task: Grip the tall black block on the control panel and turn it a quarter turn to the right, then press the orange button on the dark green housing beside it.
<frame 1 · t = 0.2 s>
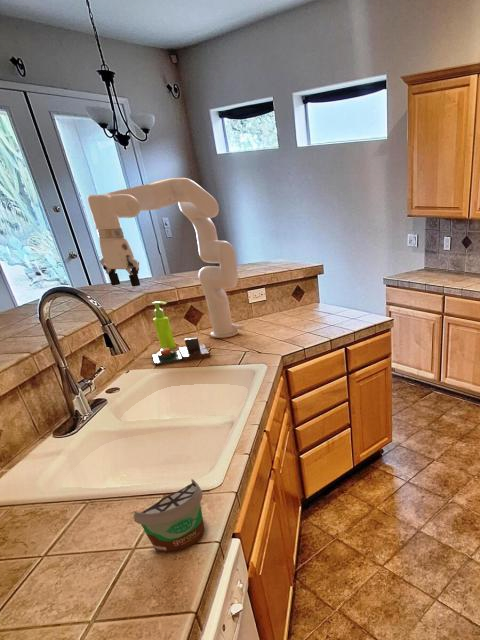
hand: (126, 285, 157), 31 cm above the counter, tool pointing down, fingers open, 9 cm apart
food container: (188, 541, 82), on the counter
button box: (167, 359, 177), on the counter
button: (165, 351, 176), point 3 cm above the counter, slide at 0.1 cm
soap dispenser: (169, 347, 192), on the counter
black block: (192, 344, 180), point 5 cm above the counter, hinge at 0.0°
panel: (194, 354, 182), on the counter
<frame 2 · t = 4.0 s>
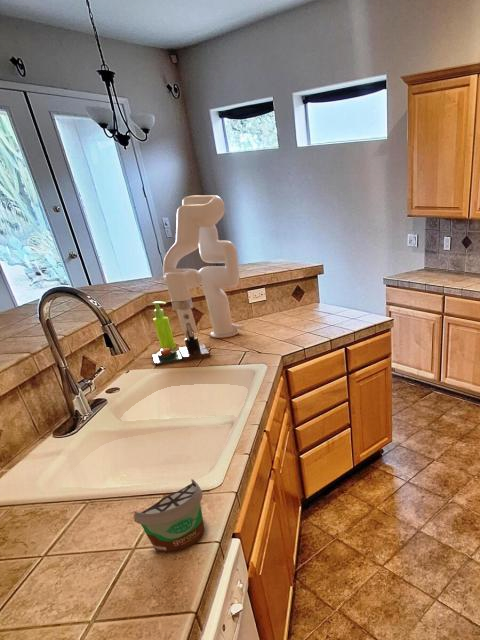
hand: (193, 348, 181), 3 cm above the counter, tool pointing down, fingers closed on black block, 2 cm apart
black block: (192, 344, 180), point 5 cm above the counter, hinge at -0.4°, touching gripper
everything else where it was.
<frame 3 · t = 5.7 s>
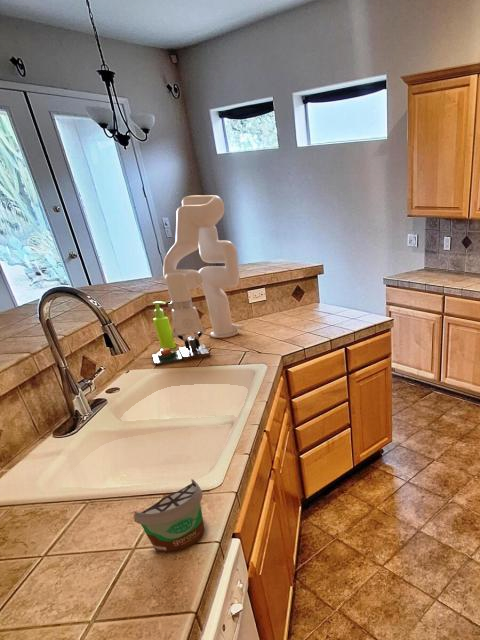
hand: (193, 348, 181), 3 cm above the counter, tool pointing down, fingers closed
black block: (192, 344, 180), point 5 cm above the counter, hinge at -90.1°
everything else where it was.
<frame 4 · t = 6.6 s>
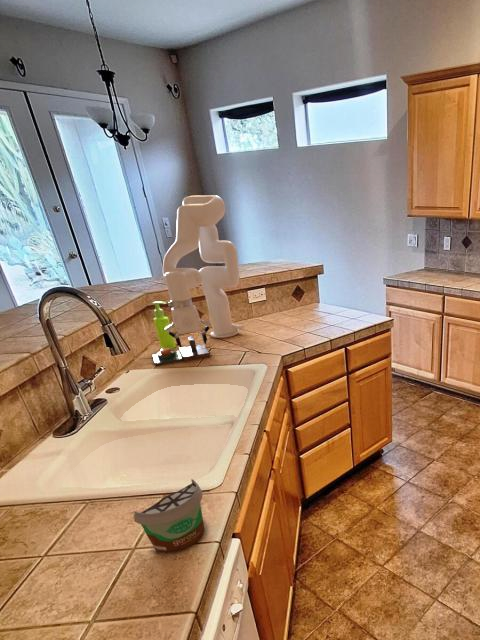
hand: (192, 344, 180), 4 cm above the counter, tool pointing down, fingers open, 9 cm apart
nothing on the counter moved.
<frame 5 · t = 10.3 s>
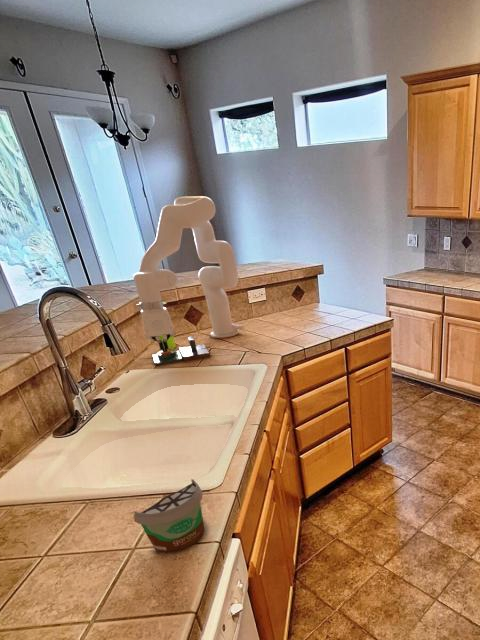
hand: (165, 350, 175), 4 cm above the counter, tool pointing down, fingers closed
button: (166, 352, 176), point 3 cm above the counter, slide at -0.6 cm, touching gripper
everything else where it was.
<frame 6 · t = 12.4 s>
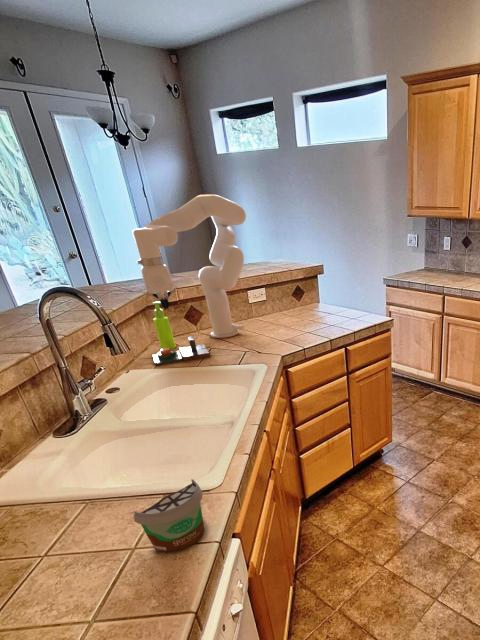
hand: (166, 308, 178), 18 cm above the counter, tool pointing down, fingers closed
button: (165, 351, 176), point 3 cm above the counter, slide at 0.1 cm
everything else where it was.
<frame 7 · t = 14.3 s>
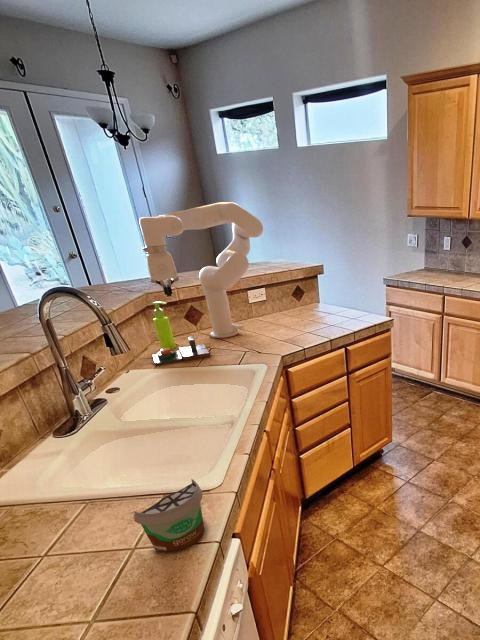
hand: (169, 296, 183), 22 cm above the counter, tool pointing down, fingers closed
nothing on the counter moved.
at the end: black block at -90° (first picture: +0°); button pushed in 1.1 cm at the most during the clip, back to where it started at the end; button slide at 0.1 cm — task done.
